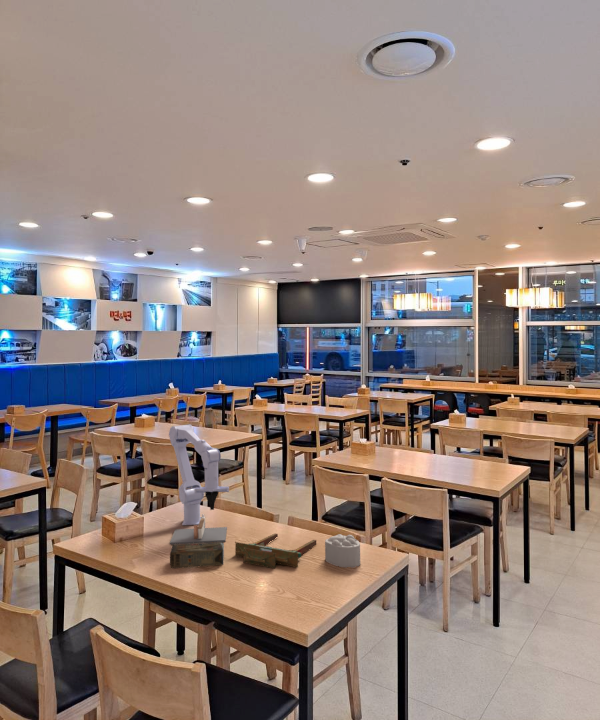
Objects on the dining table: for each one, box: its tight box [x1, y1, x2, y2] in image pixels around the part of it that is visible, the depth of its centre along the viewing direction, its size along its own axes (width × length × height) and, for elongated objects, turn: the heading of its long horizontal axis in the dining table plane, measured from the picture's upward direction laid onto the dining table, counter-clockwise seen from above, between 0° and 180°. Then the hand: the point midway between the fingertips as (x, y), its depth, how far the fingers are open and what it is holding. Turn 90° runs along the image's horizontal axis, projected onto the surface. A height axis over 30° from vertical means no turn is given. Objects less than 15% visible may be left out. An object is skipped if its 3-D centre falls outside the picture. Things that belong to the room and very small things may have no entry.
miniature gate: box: [234, 533, 317, 570], centre depth 205 cm, size 27×6×30 cm
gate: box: [198, 516, 206, 539], centre depth 226 cm, size 13×2×5 cm, turn 4°
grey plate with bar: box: [169, 514, 228, 546], centre depth 225 cm, size 16×22×7 cm
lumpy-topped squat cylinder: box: [324, 533, 361, 568], centre depth 196 cm, size 10×13×9 cm
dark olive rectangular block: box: [169, 542, 225, 569], centre depth 197 cm, size 8×19×7 cm, turn 97°
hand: (212, 509), depth 232 cm, fingers closed
